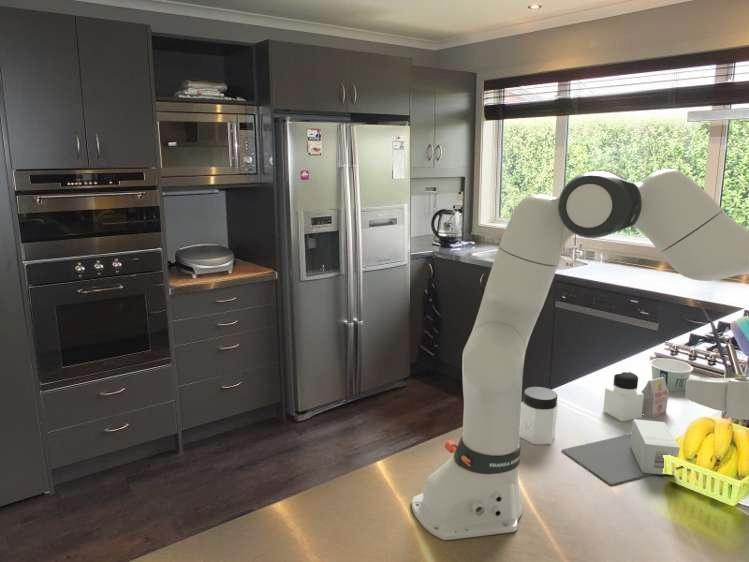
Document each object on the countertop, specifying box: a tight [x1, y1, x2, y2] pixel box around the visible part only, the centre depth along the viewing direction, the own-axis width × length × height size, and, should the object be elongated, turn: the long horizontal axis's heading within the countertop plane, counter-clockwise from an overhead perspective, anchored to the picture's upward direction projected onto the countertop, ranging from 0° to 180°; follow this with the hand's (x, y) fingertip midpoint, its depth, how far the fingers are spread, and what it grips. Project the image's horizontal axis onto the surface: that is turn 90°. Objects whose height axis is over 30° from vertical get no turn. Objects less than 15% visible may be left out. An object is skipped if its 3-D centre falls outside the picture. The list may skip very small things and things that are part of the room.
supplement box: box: [630, 418, 681, 476], centre depth 136 cm, size 7×7×13 cm
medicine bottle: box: [602, 370, 644, 423], centre depth 160 cm, size 7×7×12 cm
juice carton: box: [640, 377, 669, 419], centre depth 162 cm, size 4×7×10 cm, turn 119°
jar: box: [519, 386, 558, 445], centre depth 147 cm, size 9×8×12 cm
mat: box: [561, 433, 654, 487], centre depth 138 cm, size 22×16×1 cm
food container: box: [649, 357, 694, 391], centre depth 182 cm, size 12×12×6 cm
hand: (703, 381), depth 112 cm, fingers closed
